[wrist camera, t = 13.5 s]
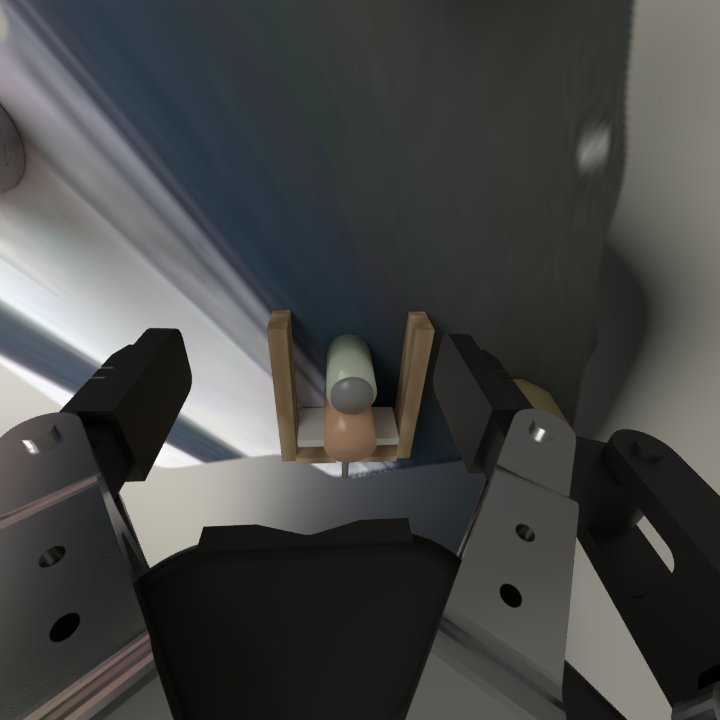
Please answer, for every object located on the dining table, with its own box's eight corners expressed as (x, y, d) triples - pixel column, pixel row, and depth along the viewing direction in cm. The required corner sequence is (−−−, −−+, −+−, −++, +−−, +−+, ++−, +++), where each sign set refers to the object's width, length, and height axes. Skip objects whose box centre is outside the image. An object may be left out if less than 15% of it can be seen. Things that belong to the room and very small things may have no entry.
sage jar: (326, 370, 45) (326, 417, 38) (327, 334, 42) (326, 378, 35) (368, 370, 46) (375, 417, 38) (371, 334, 43) (380, 378, 35)
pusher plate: (304, 468, 56) (302, 502, 51) (300, 408, 48) (297, 440, 43) (383, 466, 57) (389, 499, 52) (391, 406, 49) (399, 438, 44)
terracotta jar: (325, 406, 49) (325, 463, 41) (323, 372, 45) (322, 427, 37) (367, 404, 49) (375, 461, 41) (368, 370, 46) (377, 424, 38)
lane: (285, 437, 52) (281, 464, 47) (272, 310, 40) (266, 331, 36) (403, 434, 53) (410, 460, 49) (425, 311, 41) (435, 332, 37)
